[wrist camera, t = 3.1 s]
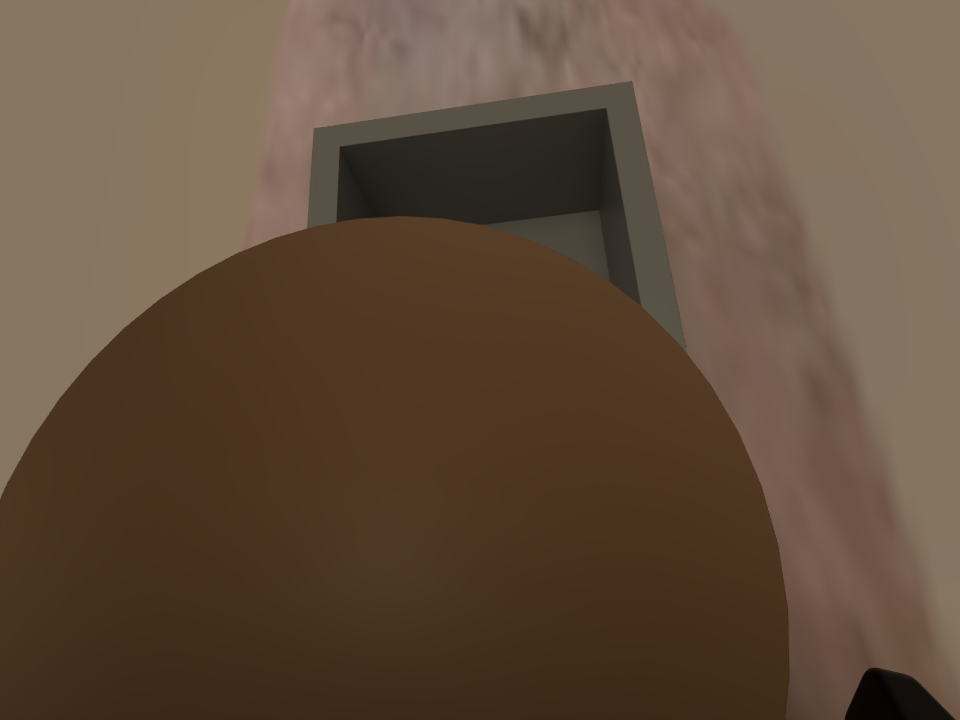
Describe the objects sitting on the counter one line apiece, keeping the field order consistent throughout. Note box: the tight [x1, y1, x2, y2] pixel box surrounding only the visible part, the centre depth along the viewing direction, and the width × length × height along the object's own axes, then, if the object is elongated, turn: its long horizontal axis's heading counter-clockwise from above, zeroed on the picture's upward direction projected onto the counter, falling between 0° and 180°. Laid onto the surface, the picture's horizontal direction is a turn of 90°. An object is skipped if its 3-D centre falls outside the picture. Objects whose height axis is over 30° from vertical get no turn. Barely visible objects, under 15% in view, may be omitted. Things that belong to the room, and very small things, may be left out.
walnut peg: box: [0, 216, 789, 720], centre depth 9 cm, size 4×4×13 cm
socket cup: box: [307, 81, 688, 355], centre depth 16 cm, size 8×8×5 cm
